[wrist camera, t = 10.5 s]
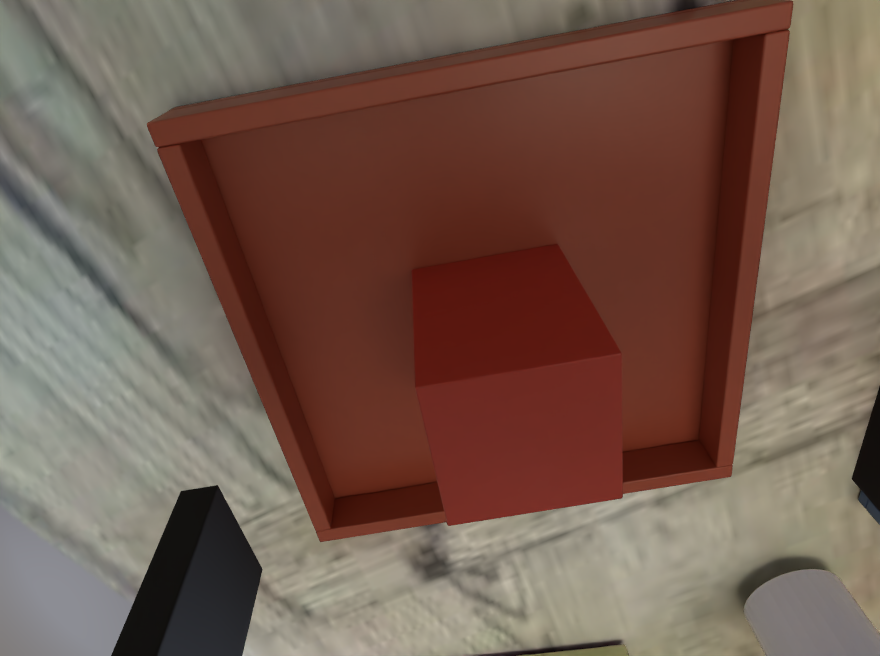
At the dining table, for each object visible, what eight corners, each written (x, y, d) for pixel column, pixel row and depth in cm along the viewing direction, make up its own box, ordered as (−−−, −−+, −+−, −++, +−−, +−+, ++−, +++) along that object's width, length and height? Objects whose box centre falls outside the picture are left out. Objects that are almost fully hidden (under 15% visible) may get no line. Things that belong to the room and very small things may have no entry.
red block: (411, 269, 18) (414, 388, 13) (558, 243, 17) (622, 352, 12) (436, 385, 20) (447, 526, 15) (566, 363, 20) (623, 498, 15)
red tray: (173, 107, 15) (144, 123, 14) (750, -3, 15) (794, -1, 13) (325, 501, 23) (319, 542, 22) (706, 439, 23) (731, 477, 21)
